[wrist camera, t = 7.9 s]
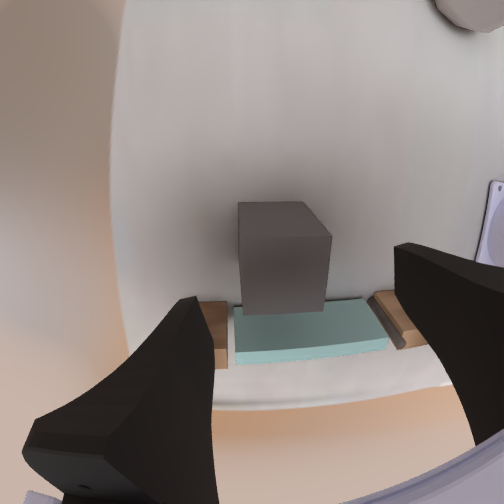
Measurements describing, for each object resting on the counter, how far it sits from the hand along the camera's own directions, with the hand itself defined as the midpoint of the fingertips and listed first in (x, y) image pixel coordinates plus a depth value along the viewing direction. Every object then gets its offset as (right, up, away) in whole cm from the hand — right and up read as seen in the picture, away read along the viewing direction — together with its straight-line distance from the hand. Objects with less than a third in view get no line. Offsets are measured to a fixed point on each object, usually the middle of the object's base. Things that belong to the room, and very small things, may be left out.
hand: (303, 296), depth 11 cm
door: (+2, -3, +11) cm, 12 cm away
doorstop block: (-1, +3, +9) cm, 10 cm away
